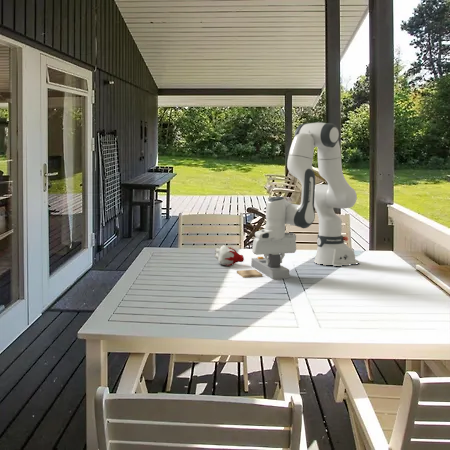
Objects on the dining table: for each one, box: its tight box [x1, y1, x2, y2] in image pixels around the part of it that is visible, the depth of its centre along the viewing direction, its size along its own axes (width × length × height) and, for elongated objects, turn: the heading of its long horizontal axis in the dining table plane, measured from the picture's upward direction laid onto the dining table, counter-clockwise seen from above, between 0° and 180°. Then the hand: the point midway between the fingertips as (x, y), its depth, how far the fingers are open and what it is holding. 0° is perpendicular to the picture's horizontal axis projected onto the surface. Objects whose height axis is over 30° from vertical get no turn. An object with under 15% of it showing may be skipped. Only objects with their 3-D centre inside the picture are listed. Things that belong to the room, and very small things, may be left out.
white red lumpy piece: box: [214, 244, 245, 267], centre depth 263 cm, size 9×11×15 cm
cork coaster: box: [236, 269, 263, 278], centre depth 244 cm, size 9×9×1 cm
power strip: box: [251, 256, 290, 280], centre depth 253 cm, size 8×32×4 cm, turn 18°
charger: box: [267, 253, 281, 268], centre depth 245 cm, size 4×4×7 cm
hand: (274, 263), depth 245 cm, fingers closed on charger, 4 cm apart
